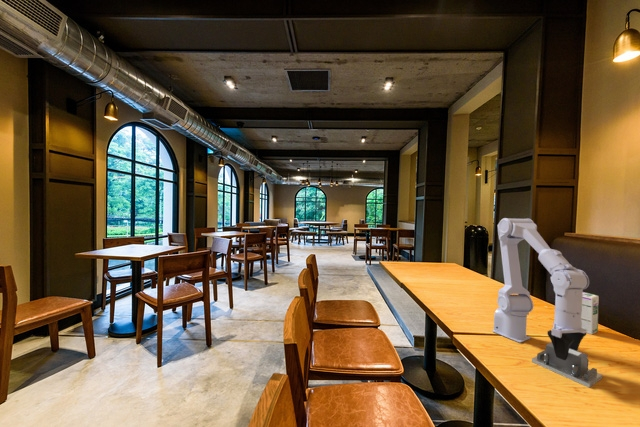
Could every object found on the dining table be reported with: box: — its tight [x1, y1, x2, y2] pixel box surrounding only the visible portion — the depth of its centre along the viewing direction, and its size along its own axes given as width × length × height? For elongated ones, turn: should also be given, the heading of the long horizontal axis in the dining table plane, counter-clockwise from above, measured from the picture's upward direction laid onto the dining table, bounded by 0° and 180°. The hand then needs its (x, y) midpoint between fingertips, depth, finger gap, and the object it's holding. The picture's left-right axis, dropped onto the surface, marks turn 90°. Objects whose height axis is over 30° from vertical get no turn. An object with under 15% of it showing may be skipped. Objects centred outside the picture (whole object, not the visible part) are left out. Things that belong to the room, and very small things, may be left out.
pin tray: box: [531, 349, 603, 388], centre depth 77 cm, size 13×9×4 cm
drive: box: [545, 341, 588, 376], centre depth 77 cm, size 8×4×5 cm, turn 28°
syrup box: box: [581, 291, 600, 335], centre depth 104 cm, size 6×6×14 cm
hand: (565, 355), depth 77 cm, fingers open, 6 cm apart
